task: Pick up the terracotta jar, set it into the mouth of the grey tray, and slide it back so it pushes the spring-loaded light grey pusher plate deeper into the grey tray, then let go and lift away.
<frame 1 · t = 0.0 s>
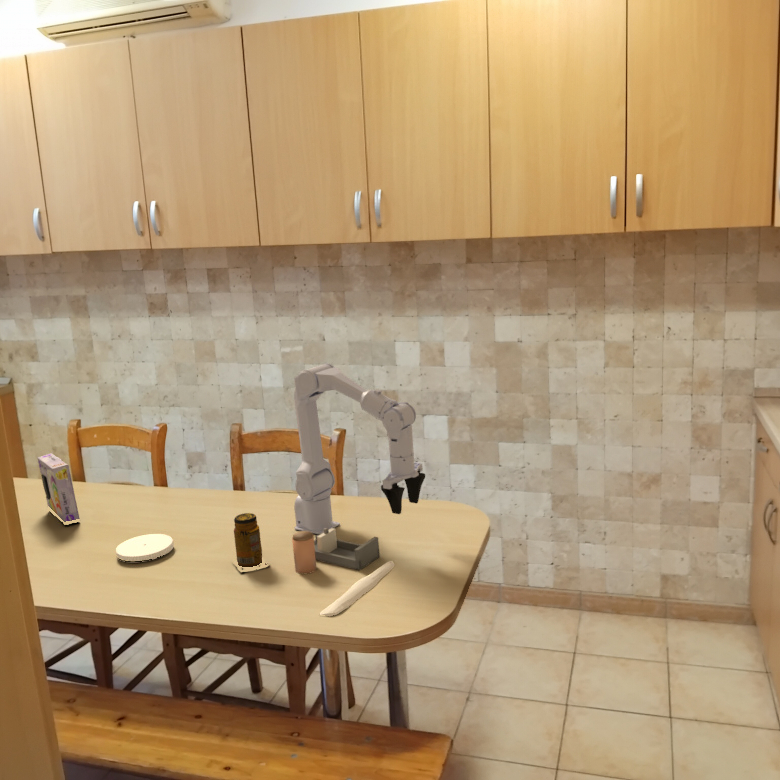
hand: (405, 507, 193), 10 cm above the table, tool pointing down, fingers open, 7 cm apart
pusher: (326, 540, 194), point 4 cm above the table, slide at 0.0 cm
plastic lid: (146, 554, 203), on the table
condiment: (250, 565, 192), on the table
jar: (306, 569, 187), on the table
grey tray: (337, 556, 193), on the table
cake pan box: (63, 517, 233), on the table
spatula: (362, 591, 175), on the table
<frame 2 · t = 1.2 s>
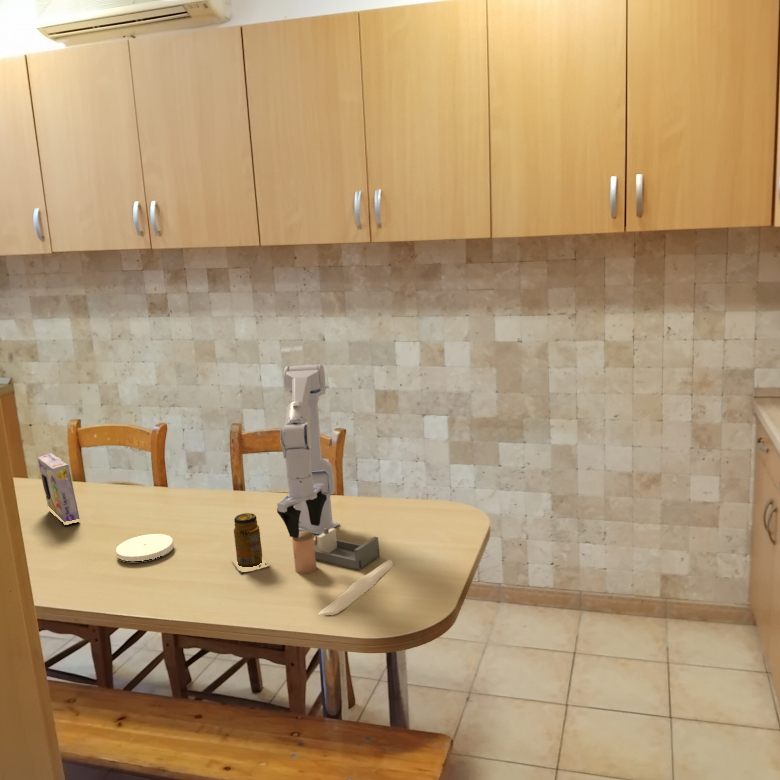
hand: (305, 530, 185), 9 cm above the table, tool pointing down, fingers open, 7 cm apart
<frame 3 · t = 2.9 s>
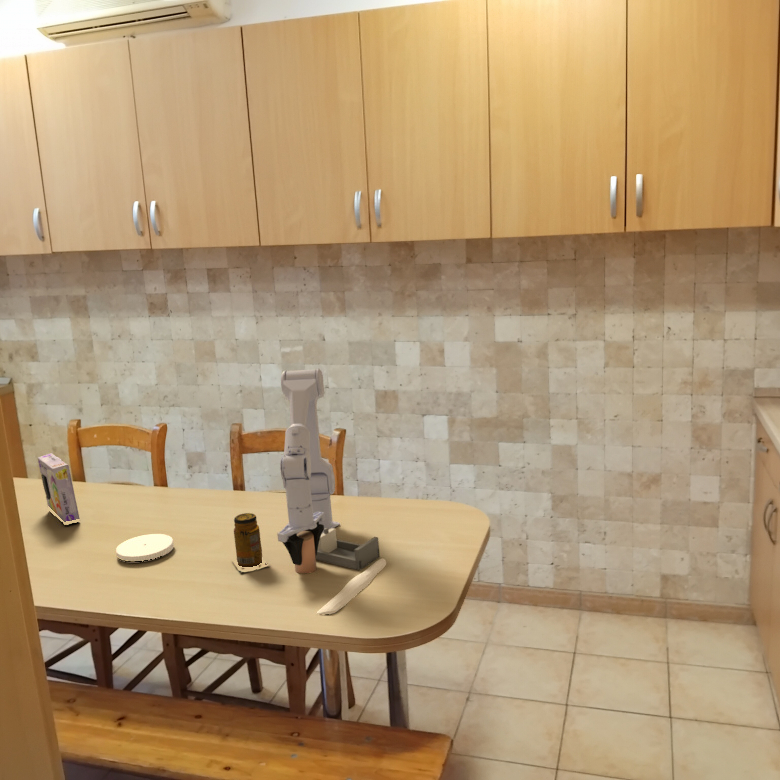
hand: (305, 559, 186), 2 cm above the table, tool pointing down, fingers closed on jar, 5 cm apart
jar: (306, 569, 187), on the table, touching gripper
spatula: (357, 589, 176), on the table
everything else where it was.
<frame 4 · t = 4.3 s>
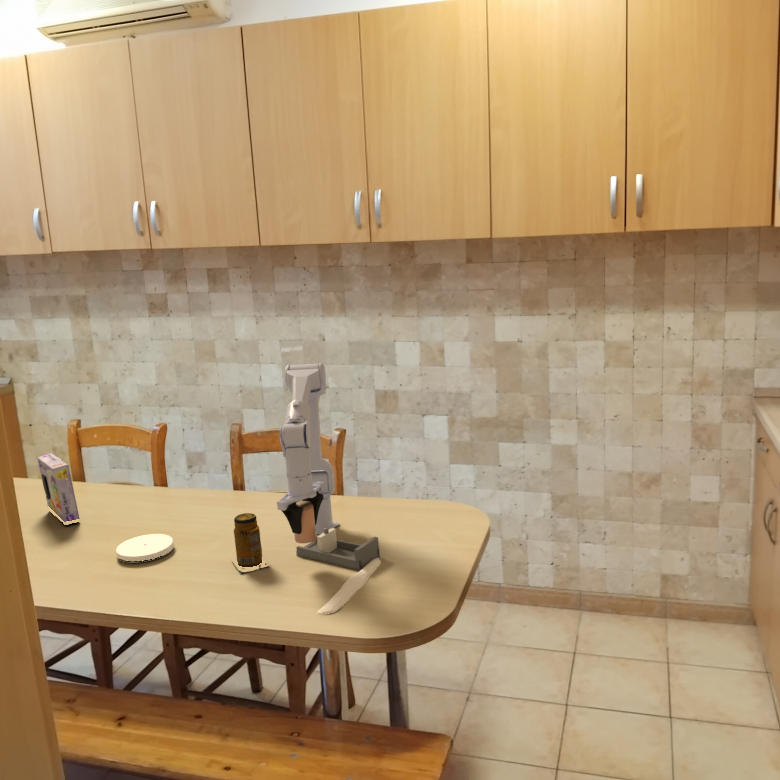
hand: (304, 528, 187), 9 cm above the table, tool pointing down, fingers closed on jar, 5 cm apart
jar: (305, 539, 187), point 7 cm above the table, touching gripper
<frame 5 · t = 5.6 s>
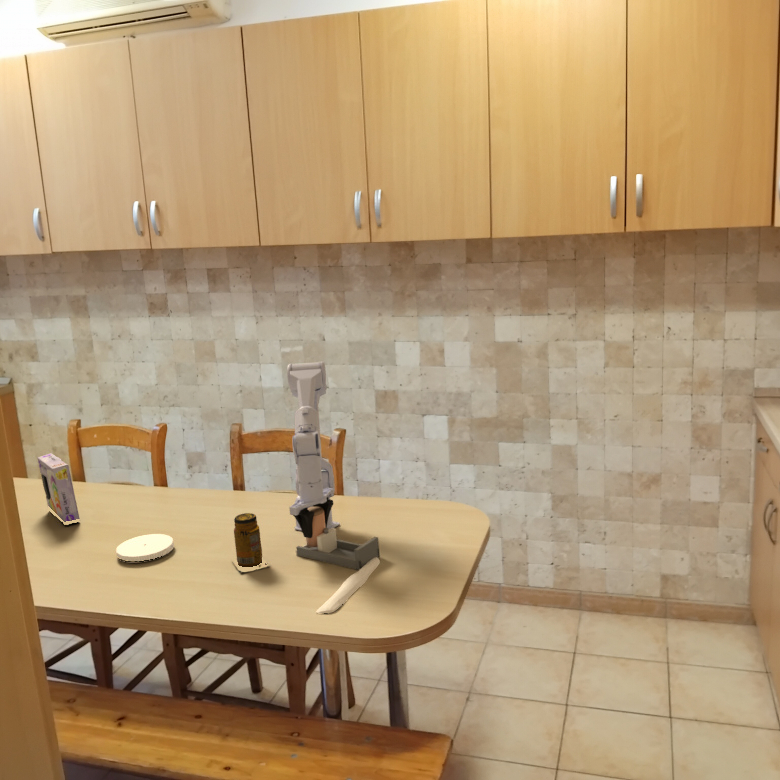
hand: (315, 532, 195), 5 cm above the table, tool pointing down, fingers closed on jar, 5 cm apart
jar: (316, 542, 196), point 2 cm above the table, touching gripper
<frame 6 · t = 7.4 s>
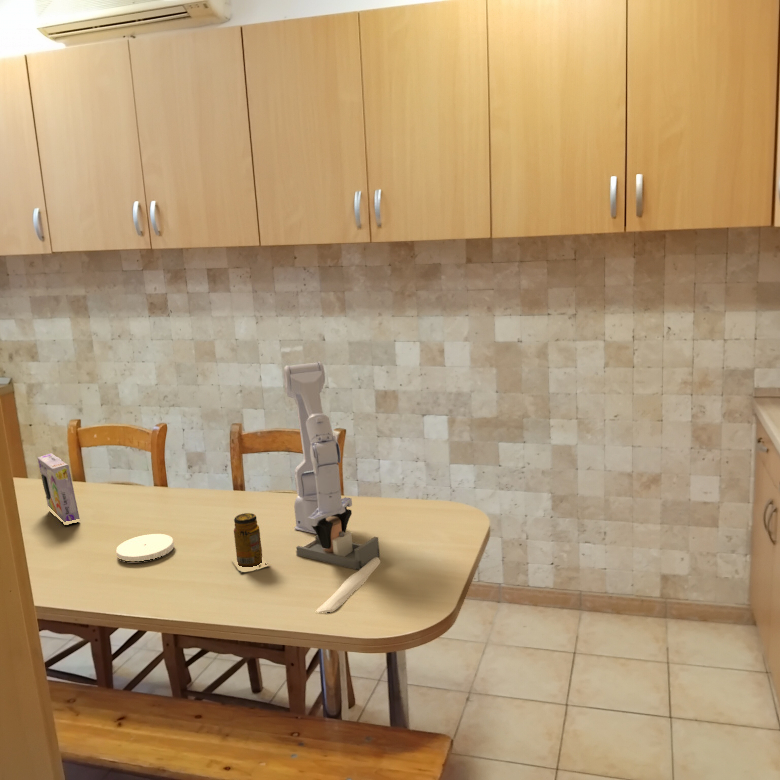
hand: (333, 543, 192), 3 cm above the table, tool pointing down, fingers closed on jar, 5 cm apart
pusher: (342, 543, 191), point 4 cm above the table, slide at 4.8 cm, touching jar
jar: (333, 553, 193), resting on grey tray, touching gripper, pusher
when the fingers open (3 cm above the table, at t = 8.6 s): jar stays where it is, resting on grey tray, pusher.
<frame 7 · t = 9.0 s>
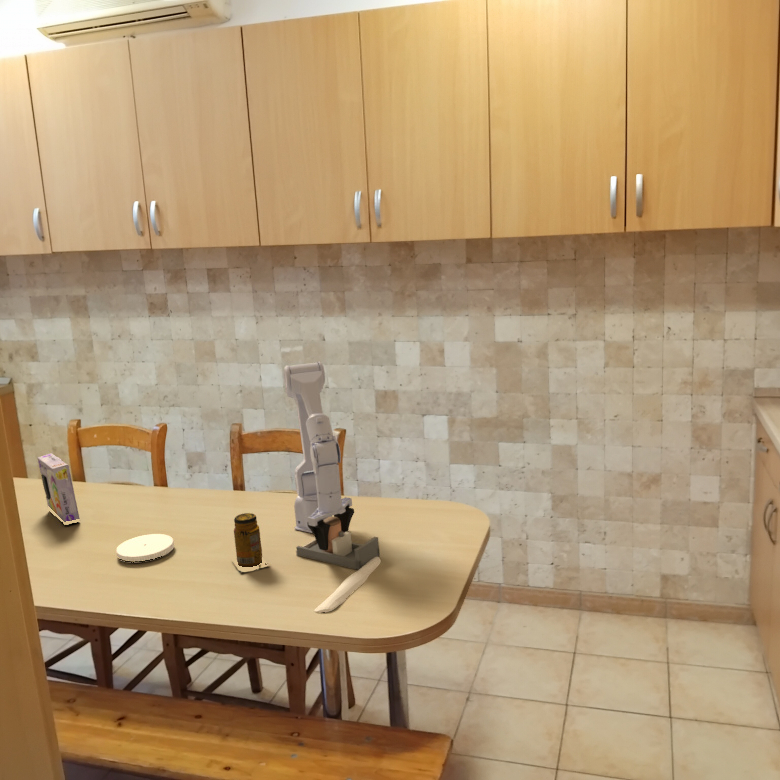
hand: (333, 543, 192), 3 cm above the table, tool pointing down, fingers open, 7 cm apart
jar: (333, 553, 193), resting on grey tray, pusher
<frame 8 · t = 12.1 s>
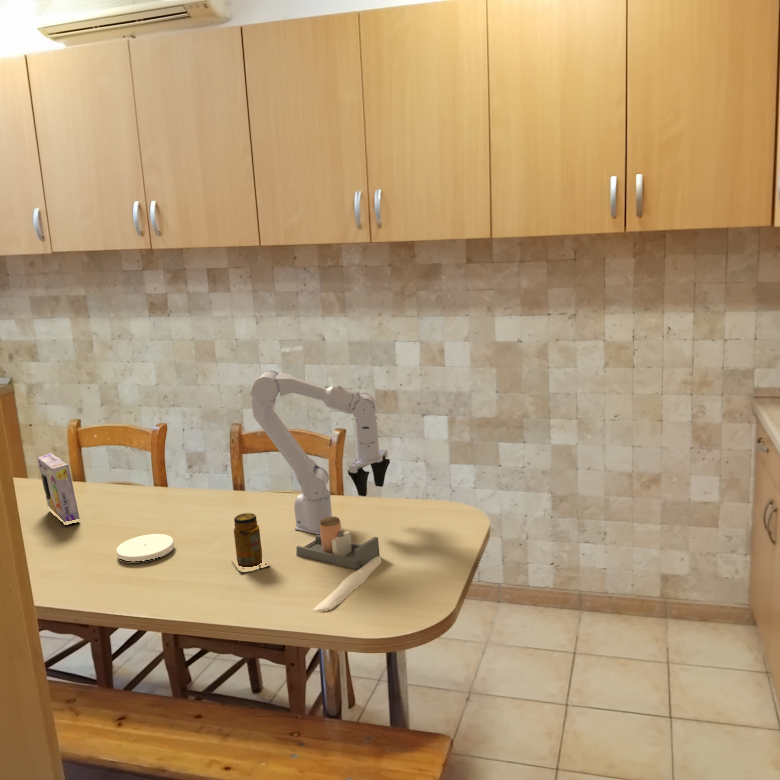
hand: (371, 490, 208), 9 cm above the table, tool pointing down, fingers open, 7 cm apart
at the end: jar inside the target area on the grey tray (1.6 cm from its centre), point 0.4 cm above the grey tray's base; jar tilted 0°; pusher slide at 4.5 cm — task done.
